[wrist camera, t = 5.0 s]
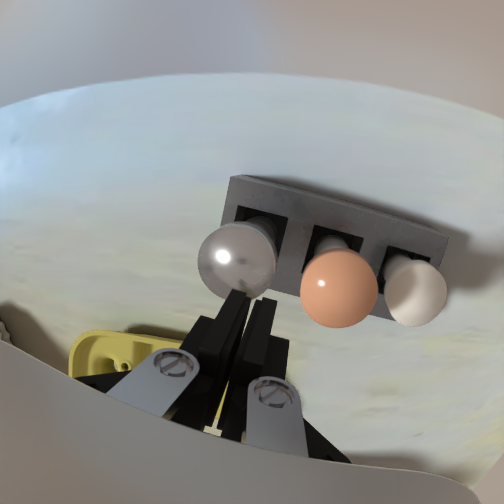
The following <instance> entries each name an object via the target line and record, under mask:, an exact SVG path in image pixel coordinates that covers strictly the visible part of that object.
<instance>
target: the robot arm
mask: <svg viewBox="0 0 504 504" xmlns="http://www.w3.org/2000/svg"><path fill="white" fill-rule="evenodd" d="M246 296H247V293H246V292H243V291H239V290H236V289H232V290H231V292H230V293H229V295H228V297H227V299H226V301H225V302H224V304H223V306H222V308H221V309H220V311H219V313H218V315H217V317H216V318H215V319H212V318H209V317H205V316H200V317H199V319H198V320H197V322H196V323H195V325H194V326H193V328H192V329H191V331H190V332H189V334H188V335H187V337H186V338H185V340H184V341H183V343H182V344H181V346H180V347H179V349H176V348H162V349H159V350H156V351H155V352H153V353H151V354H150V355H149V356H148V357H147V358H146V359H145V360H143V361H142V362H141V363H140V364H139V365H138V366H137V367H136V368H134V369H133V370H127V371H120V372H113V373H105V374H97V375H89V376H80V377H76V378H72V377H70V376H68V375H66V374H64V373H62V372H60V371H58V370H57V369H55V368H53V367H51V366H49V365H48V364H46V363H44V362H42V361H40V360H38V359H36V358H35V357H33V356H31V355H29V354H27V353H26V352H24V351H22V350H20V349H19V348H17V347H15V346H13V345H11V344H9V343H7V342H5V341H2V340H0V504H481V502H480V501H479V499H478V497H477V496H476V495H475V494H474V492H473V491H472V490H471V489H469V488H468V487H467V486H465V485H463V484H461V483H459V482H457V481H455V480H452V479H449V478H446V477H443V476H440V475H436V474H431V473H427V472H422V471H414V470H407V469H395V468H384V467H375V466H366V465H356V464H352V463H351V462H350V460H349V459H348V458H347V457H346V456H345V455H343V454H342V453H341V452H340V451H339V450H338V449H337V448H336V447H334V446H333V445H332V444H331V443H330V442H329V441H328V440H327V439H326V438H325V437H323V436H322V435H321V434H320V433H319V432H318V431H317V430H316V429H315V428H314V427H313V426H312V425H311V424H309V423H308V422H307V421H306V420H305V419H304V418H303V415H302V408H301V401H300V396H299V393H298V391H297V390H296V389H295V387H294V386H293V385H291V384H290V383H289V382H287V381H285V375H286V367H287V358H288V350H289V340H287V339H284V338H280V337H276V336H272V335H270V333H271V328H272V324H273V319H274V315H275V310H276V305H277V301H276V300H272V299H268V298H265V297H263V298H262V301H261V300H257V299H256V301H255V304H254V306H253V309H252V312H251V315H250V318H249V320H248V323H247V326H246V328H245V331H244V327H245V323H246V319H247V315H248V311H249V307H250V303H251V298H250V297H246ZM243 331H244V334H243ZM242 335H243V337H242ZM241 338H242V339H241ZM228 381H229V382H228ZM227 384H228V386H227ZM226 387H227V390H226V393H225V397H224V401H223V405H222V409H221V413H220V417H219V421H218V425H217V429H219V430H222V433H221V437H219V436H216V435H212V434H209V433H206V432H203V430H204V428H205V425H206V426H209V427H212V424H213V422H214V419H215V416H216V414H217V411H218V408H219V406H220V403H221V400H222V397H223V395H224V392H225V389H226Z"/></svg>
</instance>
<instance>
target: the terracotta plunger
mask: <svg viewBox="0 0 504 504" xmlns="http://www.w3.org/2000/svg"><path fill="white" fill-rule="evenodd" d="M377 296H378V284H377V280H376V277H375V275H374V273H373V271H372V269H371V267H370V265H369V264H368V262H367V261H366V259H365V258H364V257H362V256H361V255H360V254H359V253H357V252H355V251H353V250H350V249H349V247H348V245H347V243H346V242H345V241H344V240H343V239H342V238H341V237H339V236H336V235H328V236H325V237H323V238H321V239H320V240H319V241H318V243H317V244H316V246H315V250H314V257H313V258H312V259H311V260H310V261H309V263H308V264H307V266H306V267H305V269H304V272H303V275H302V280H301V289H300V298H301V302H302V305H303V308H304V310H305V311H306V313H307V314H308V315H309V316H310V317H311V318H312V319H313V320H314V321H315V322H317V323H319V324H321V325H323V326H326V327H331V328H344V327H349V326H352V325H354V324H357V323H358V322H360V321H361V320H363V319H364V318H365V317H366V316H367V315H368V314H369V313H370V312H371V310H372V309H373V307H374V305H375V303H376V300H377Z"/></svg>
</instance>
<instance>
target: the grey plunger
mask: <svg viewBox="0 0 504 504" xmlns="http://www.w3.org/2000/svg"><path fill="white" fill-rule="evenodd" d="M276 236H277V231H276V227H275V225H274V224H273V222H272V221H271V220H270V219H268V218H266V217H263V216H254V217H252V218H250V219H248V220H247V221H246V222H231V223H228V224H225V225H223V226H221V227H220V228H219V229H217V230H216V231H214V232H213V233H212V234H210V235H209V236H208V237H207V238H206V239H205V241H204V242H203V244H202V245H201V248H200V250H199V254H198V269H199V273H200V276H201V278H202V280H203V282H204V283H205V285H206V286H207V287H208V288H209V289H210V290H211V291H212V292H213V293H214V294H216V295H217V296H219V297H221V298H223V299H227V297H228V295H229V293H230V292H231V290H232V289H236V290H239V291H243V292H246V293H247V296H246V297H250V298H251V300H252V299H254V298H256V297H258V296H260V295H261V294H262V293H264V292H265V290H266V289H267V288H268V287H269V285H270V283H271V281H272V279H273V276H274V273H275V270H276V267H277V259H278V258H277V251H276V247H275V245H274V242H275V240H276Z"/></svg>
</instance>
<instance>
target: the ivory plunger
mask: <svg viewBox="0 0 504 504" xmlns="http://www.w3.org/2000/svg"><path fill="white" fill-rule="evenodd" d="M380 271H381V273H382V275H383V277H384V278H385V280H386V283H385V287H384V298H385V302H386V304H387V306H388V309H389V311H390V313H391V315H392V317H393V318H394V319H395V320H396V321H397V322H398V323H400V324H402V325H405V326H409V327H417V326H422V325H424V324H427V323H429V322H430V321H432V320H433V319H434V318H435V317H436V316H437V315H438V314H439V313H440V312H441V310H442V309H443V307H444V305H445V302H446V298H447V285H446V282H445V280H444V278H443V276H442V275H441V274H440V273H439V272H438V271H437V270H436V269H435V268H434V267H433V266H432V265H431V264H429V263H427V262H425V261H422V260H411V259H410V258H409V256H408V255H407V254H406V253H405V252H404V251H403V250H402V249H401V248H397V247H394V246H388V247H387V249H386V252H385V255H384V258H383V261H382V264H381V267H380Z"/></svg>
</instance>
